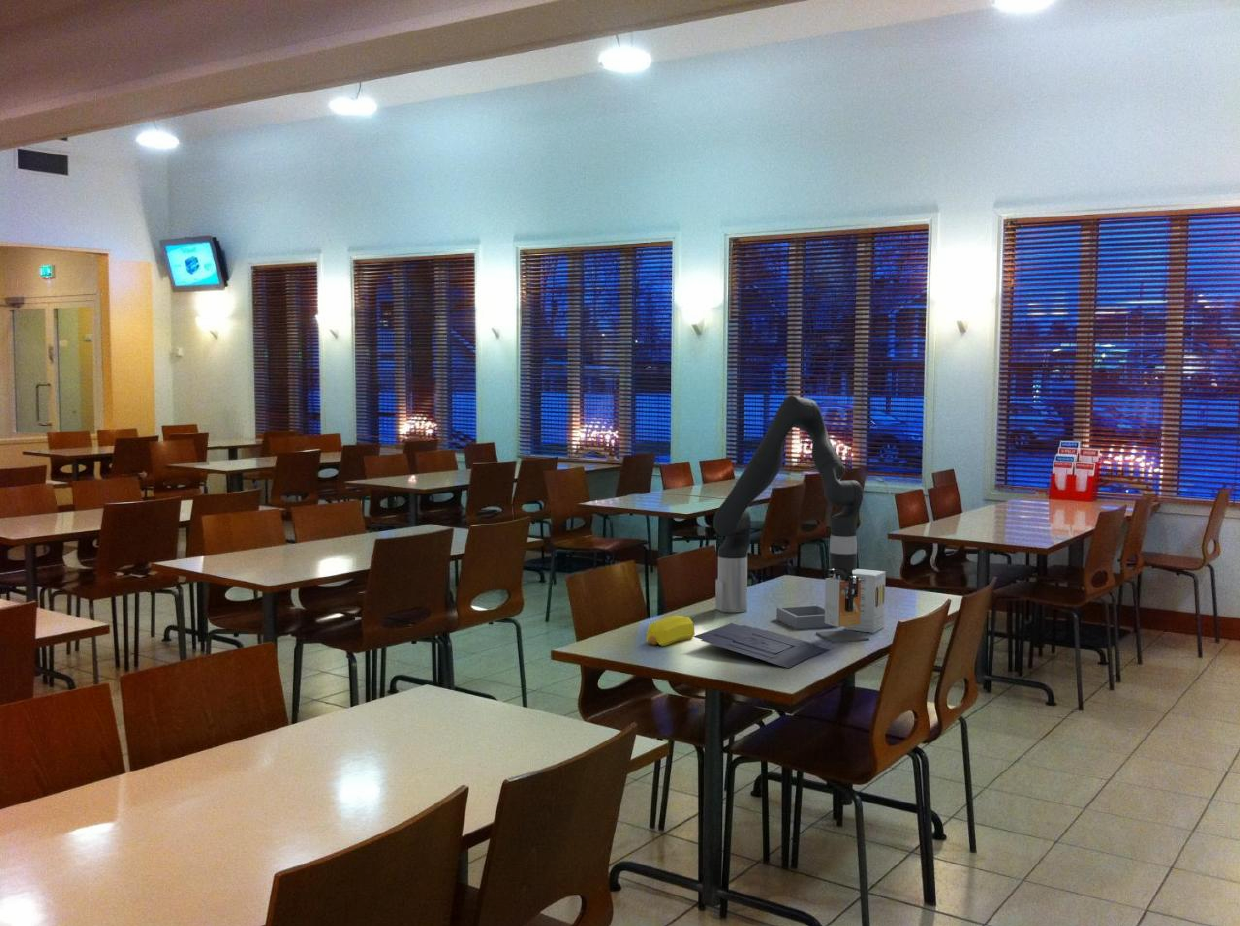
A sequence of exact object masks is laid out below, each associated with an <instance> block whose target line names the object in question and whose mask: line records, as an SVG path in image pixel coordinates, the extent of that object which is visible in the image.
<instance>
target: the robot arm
mask: <svg viewBox="0 0 1240 926" xmlns="http://www.w3.org/2000/svg"><path fill="white" fill-rule="evenodd" d="M793 428H796V429H801V430H803V431H805V432H806V434H807V435H808V436H809V438H810V441H811V458H812V462H813V464H814V466H815V468H816V470H817V472H818V474H819V476H820V477H821V482H822V487H823V494H824V497H825V500H826V501H827V502H828V503H829V505H830V506H831V505H832V506H833V507H841V506H842V507H843V508H842V511H841V512H839V513H836V514H834V515H832V516H831V519H830V542H829V567H830V568H828V569H827V578H838V580H844V581H846V582H847V581H848V583H849V587H846V588H844V590H845V598H846V599H845V611H846V612H852V611H853V599H854V598H855V597H858V585H859V577H858V576H853V573H852V571H853V570H855V569H857V566H858V540H857V520H858V518H859V514H860V509H861V507H862V503H863V499H864V490H863V486H862V485H861V483H860V482H859V481H857V480H854V479H853V480H852V479H851V480H849V479H847V480H841V479H843V477H844V475H845V473H846V469H845V466H844V464H843V463H842V461H841V459H840V457H839V455H838V453H837V451H836V450H835V448H834V446H833V444H832V442H831V438H830V436H829V433H828V430H827V426H826V424H825V420H824V418H823V415H822V411H821V409H820V406H819V405H818V404H817V402H816V401H814V400H813V399H810V398H806V397H802V396H797V395H789V396H787V397H786V398H785V399H784V400H783V401H782V402H781V403H780V405H779V407H778V409H777V411H776V413H775V415H774V416H773V419H772V420H771V423H770V426H769V428H768V429H767V432H766V433H765V435H764V436H763V439H762V440H761V442H760V444H759V446H758V448H757V449H756V450H755V452H754V454H753V455H752V457H751V458H750V460H749V461H748V463H747V465H746V466H745V469H744V470H743V472H742V473H741V474H740V477H739V478H738V480H737V481H736V483H735V485H734V487H733V488H732V490H731V491H730V492H729V494H728V495H727V497H726V498H725V499H724V501H722V503H721V505H720V506H719V507H718V508H717V509H716V511H715V513H714V516H713V520H712V525H713V529H714V531H715V533H716V534H718V535H720V536H724V537H725V538H724V540H723V542H722V543H721V544H720V546H718V549H717V578H716V579H715V581H714V582H715V583H714V584H715V587H714V588H715V596H714V597H715V598H714V599H715V600H714V601H715V606H714V608H715V610H717V611H719V612H720V613H742V612H746V611H747V610H748V607H747V605H748V601H747V600H748V599H747V598H748V550H749V549H750V545H751V533H752V532H751V528H752V522H751V521H752V520H751V514H750V513H749V510H748V509H747V508H748V507H749V505H750V504H752V503H753V501H754V500H755V499H757V498H758V497H759V496H760V495H761V494H763V492H765V491H766V490H767V488H769V487H770V486H771V484H772V483H773V482H774V480H775V478H776V477H777V475H778V474H779V472H780V471H781V468H782V466H783V457H784V456H783V447H784V443H785V440H786V438H787V437H788V434H789V433H790V432H791V430H792V429H793ZM854 589H855V593H854ZM847 590H848V592H847Z"/></svg>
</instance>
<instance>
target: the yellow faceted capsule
mask: <svg viewBox="0 0 1240 926" xmlns="http://www.w3.org/2000/svg"><path fill="white" fill-rule="evenodd" d="M646 631H647V632H646V643H648V644H649V645H653V646H656V645H659V646H662V647H666V646H669V645H672V644H674V643H676V642H681V641H686V640H689V639H692V638H694V637H693V636H696V634H695V626H694V622H693V621H692V620H691V618H690V617H688V616H682V615H673V616H666V617H663V618H660V619H658V620H655V621H652V622H651V623H650V625H649V626H648V627H647V630H646Z"/></svg>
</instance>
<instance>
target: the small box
mask: <svg viewBox="0 0 1240 926" xmlns="http://www.w3.org/2000/svg"><path fill="white" fill-rule="evenodd" d="M846 587H849V583H848V581H847V582H846V581H844V580H838V578H828V577H827V578H825V588H824V589H825V591H824V594H825V595H824V600H825V601H824V608H825V623H827V624H830V625H833V626H832V627H837V628H839V627H840V628H841V627H844V626H850V625H860V613H861V579H859V585H858V597H855V598H854V599H853V611H852V612H846V611H845V599H846V598H845V590H844V588H846ZM847 592H848V590H847ZM854 593H855V589H854Z"/></svg>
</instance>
